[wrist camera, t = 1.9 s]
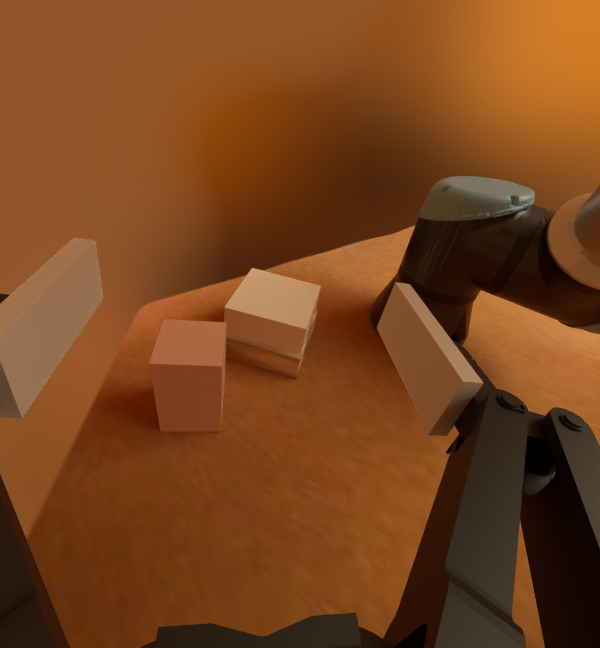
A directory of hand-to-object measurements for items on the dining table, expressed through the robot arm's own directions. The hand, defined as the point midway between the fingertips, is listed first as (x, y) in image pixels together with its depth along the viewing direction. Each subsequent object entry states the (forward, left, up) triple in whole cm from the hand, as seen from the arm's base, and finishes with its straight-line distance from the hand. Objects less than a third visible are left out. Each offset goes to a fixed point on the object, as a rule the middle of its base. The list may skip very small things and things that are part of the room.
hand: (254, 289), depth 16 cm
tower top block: (-23, -4, -20) cm, 31 cm away
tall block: (-9, -8, -24) cm, 27 cm away
